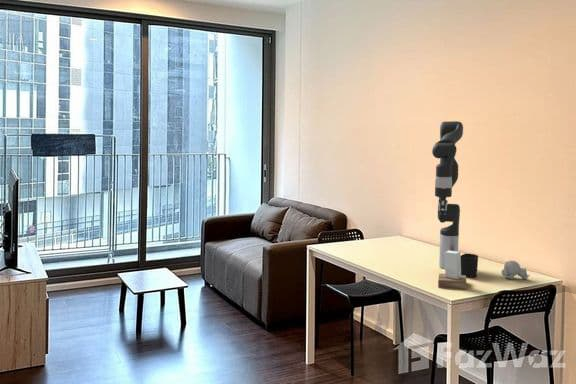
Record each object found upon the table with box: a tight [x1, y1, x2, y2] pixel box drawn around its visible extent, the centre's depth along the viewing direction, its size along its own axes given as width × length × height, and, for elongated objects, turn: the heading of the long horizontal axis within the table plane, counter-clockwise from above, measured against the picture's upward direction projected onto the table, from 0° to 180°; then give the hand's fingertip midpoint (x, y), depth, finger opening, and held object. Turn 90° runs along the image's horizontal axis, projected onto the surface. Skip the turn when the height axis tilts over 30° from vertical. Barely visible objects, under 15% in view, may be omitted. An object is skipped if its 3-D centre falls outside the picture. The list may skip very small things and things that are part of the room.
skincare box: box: [444, 250, 461, 279], centre depth 242 cm, size 6×4×12 cm
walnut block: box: [437, 273, 467, 291], centre depth 244 cm, size 12×12×4 cm
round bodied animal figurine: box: [501, 260, 530, 281], centre depth 253 cm, size 7×12×8 cm, turn 69°
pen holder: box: [460, 253, 479, 279], centre depth 259 cm, size 9×9×10 cm
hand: (442, 220), depth 248 cm, fingers open, 8 cm apart
